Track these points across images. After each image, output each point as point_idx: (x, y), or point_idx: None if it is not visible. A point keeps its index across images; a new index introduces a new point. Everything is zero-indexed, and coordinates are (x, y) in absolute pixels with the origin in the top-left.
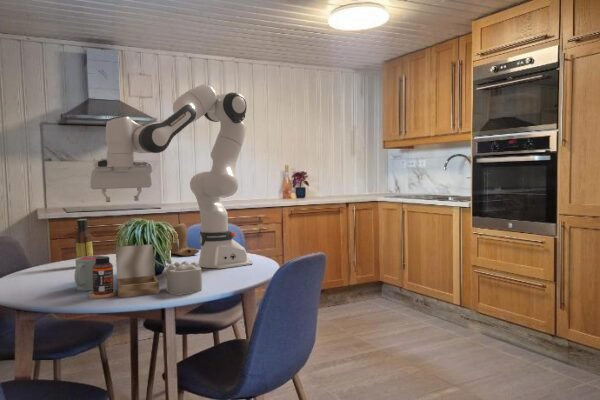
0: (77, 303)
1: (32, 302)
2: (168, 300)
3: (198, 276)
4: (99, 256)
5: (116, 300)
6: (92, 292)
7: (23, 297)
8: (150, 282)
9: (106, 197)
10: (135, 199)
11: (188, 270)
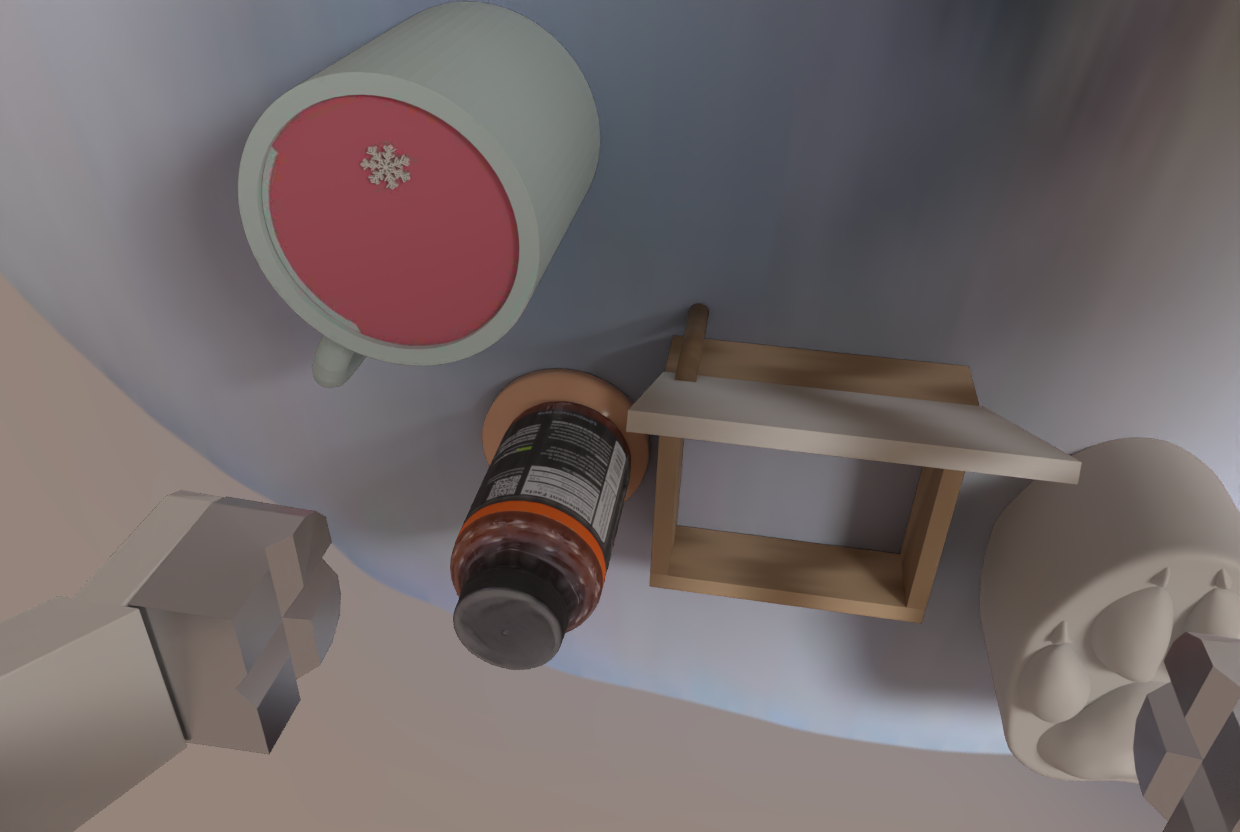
0: (432, 529)
1: (168, 375)
2: (904, 720)
3: None
4: (473, 140)
5: (641, 582)
6: (498, 403)
7: (52, 208)
8: (867, 602)
9: (160, 723)
10: (1175, 790)
11: (1126, 781)
